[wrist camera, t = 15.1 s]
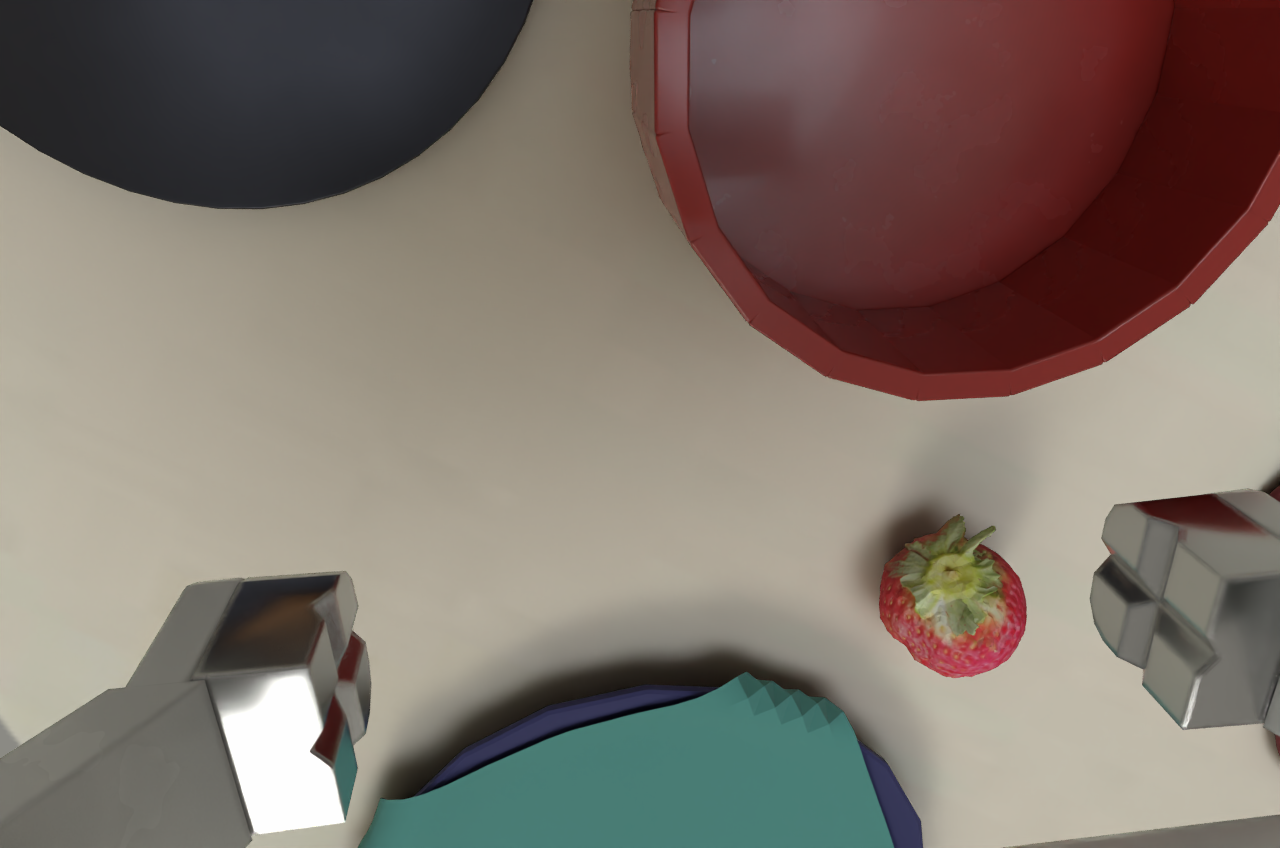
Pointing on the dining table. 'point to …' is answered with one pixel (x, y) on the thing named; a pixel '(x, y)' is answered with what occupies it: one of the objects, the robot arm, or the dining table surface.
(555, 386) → the dining table surface
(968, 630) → the fruit
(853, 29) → the pan
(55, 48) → the pan lid
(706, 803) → the cutlery set
